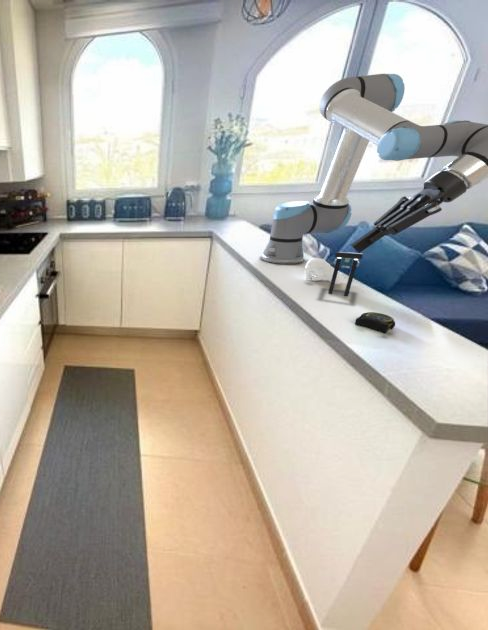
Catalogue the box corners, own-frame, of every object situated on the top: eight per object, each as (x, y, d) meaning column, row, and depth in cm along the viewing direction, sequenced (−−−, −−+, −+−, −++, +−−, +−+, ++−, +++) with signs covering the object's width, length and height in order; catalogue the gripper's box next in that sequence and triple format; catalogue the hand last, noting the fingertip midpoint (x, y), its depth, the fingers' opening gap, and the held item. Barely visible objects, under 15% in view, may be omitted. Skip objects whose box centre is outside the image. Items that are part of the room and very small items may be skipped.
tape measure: (351, 328, 90) (355, 315, 89) (365, 321, 93) (369, 309, 92) (382, 338, 85) (387, 325, 83) (396, 331, 88) (401, 317, 86)
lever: (361, 260, 93) (363, 251, 93) (334, 258, 97) (336, 249, 97) (357, 269, 104) (359, 261, 104) (333, 266, 108) (335, 259, 107)
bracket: (352, 304, 103) (364, 263, 98) (320, 299, 108) (329, 260, 102) (354, 293, 111) (365, 254, 105) (324, 288, 115) (333, 251, 110)
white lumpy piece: (311, 254, 122) (352, 262, 114) (303, 277, 126) (343, 286, 118) (306, 259, 118) (348, 267, 110) (298, 281, 122) (338, 291, 114)
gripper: (485, 194, 78) (376, 264, 89) (444, 188, 90) (352, 252, 101) (465, 170, 77) (358, 245, 88) (426, 168, 89) (335, 234, 100)
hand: (355, 248), depth 94 cm, fingers closed
